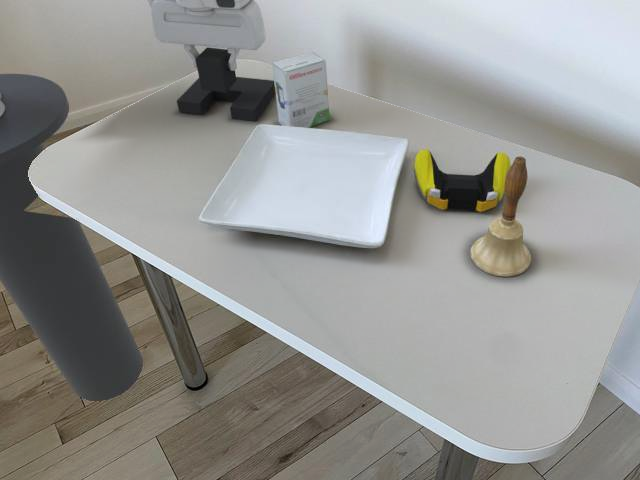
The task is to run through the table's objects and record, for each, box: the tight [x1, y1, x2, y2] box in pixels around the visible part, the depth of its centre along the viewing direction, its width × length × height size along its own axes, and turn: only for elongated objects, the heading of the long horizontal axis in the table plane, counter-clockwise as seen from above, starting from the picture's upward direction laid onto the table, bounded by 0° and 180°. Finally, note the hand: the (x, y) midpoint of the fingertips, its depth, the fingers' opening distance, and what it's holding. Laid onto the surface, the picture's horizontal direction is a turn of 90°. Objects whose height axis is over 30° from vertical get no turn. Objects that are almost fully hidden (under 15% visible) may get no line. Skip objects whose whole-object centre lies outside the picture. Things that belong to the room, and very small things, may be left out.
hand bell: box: [469, 156, 532, 278], centre depth 72 cm, size 8×8×16 cm
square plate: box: [198, 123, 410, 249], centre depth 87 cm, size 27×27×4 cm
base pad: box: [176, 76, 276, 122], centre depth 110 cm, size 16×12×2 cm
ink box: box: [271, 52, 330, 128], centre depth 100 cm, size 9×5×12 cm, turn 123°
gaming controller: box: [413, 148, 512, 213], centre depth 86 cm, size 15×6×10 cm
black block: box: [195, 46, 237, 93], centre depth 103 cm, size 5×5×6 cm
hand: (216, 67), depth 103 cm, fingers closed on black block, 5 cm apart
